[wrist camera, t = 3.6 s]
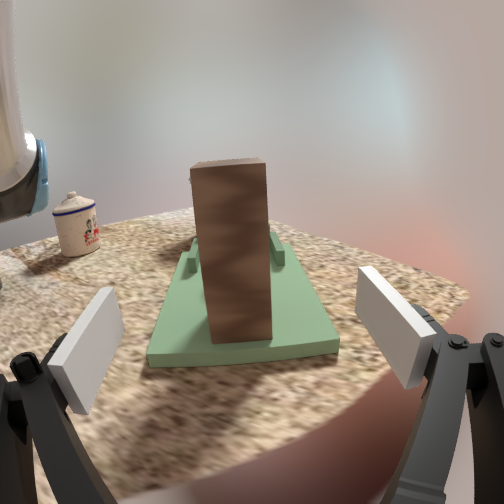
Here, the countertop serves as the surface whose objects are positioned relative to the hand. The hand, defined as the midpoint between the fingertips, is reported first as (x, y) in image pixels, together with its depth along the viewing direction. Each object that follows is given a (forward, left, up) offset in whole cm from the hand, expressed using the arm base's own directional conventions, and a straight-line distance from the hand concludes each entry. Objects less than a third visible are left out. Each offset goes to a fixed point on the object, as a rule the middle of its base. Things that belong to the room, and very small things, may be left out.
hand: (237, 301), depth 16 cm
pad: (0, +18, -9) cm, 20 cm away
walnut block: (0, +10, -8) cm, 12 cm away
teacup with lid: (-31, +42, -9) cm, 53 cm away
